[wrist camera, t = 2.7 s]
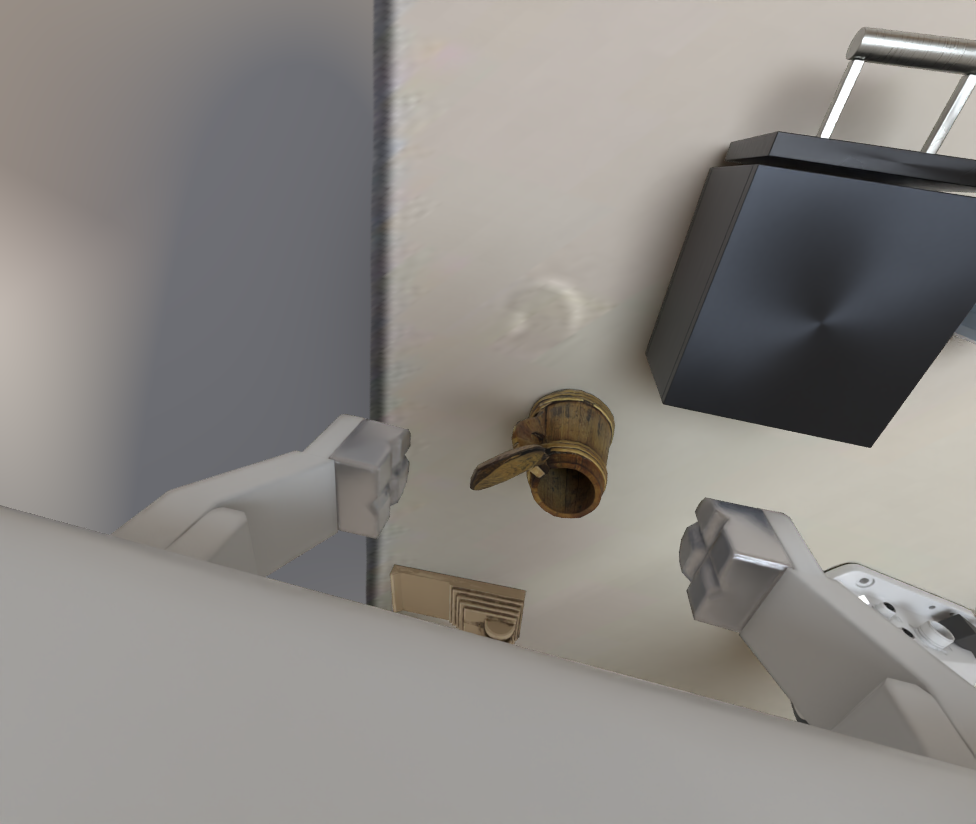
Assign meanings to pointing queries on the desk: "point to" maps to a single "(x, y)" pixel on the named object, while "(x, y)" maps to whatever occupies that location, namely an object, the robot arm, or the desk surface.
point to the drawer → (871, 159)
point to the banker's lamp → (459, 602)
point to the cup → (968, 327)
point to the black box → (812, 299)
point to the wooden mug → (557, 453)
